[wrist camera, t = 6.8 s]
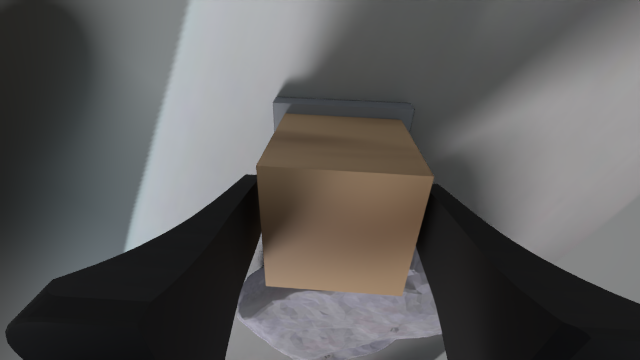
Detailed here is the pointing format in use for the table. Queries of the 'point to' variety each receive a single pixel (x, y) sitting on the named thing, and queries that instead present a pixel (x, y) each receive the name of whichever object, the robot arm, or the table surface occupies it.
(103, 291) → the robot arm
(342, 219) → the tan cube
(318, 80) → the table surface
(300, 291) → the stone block
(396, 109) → the charcoal pad
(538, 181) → the table surface
